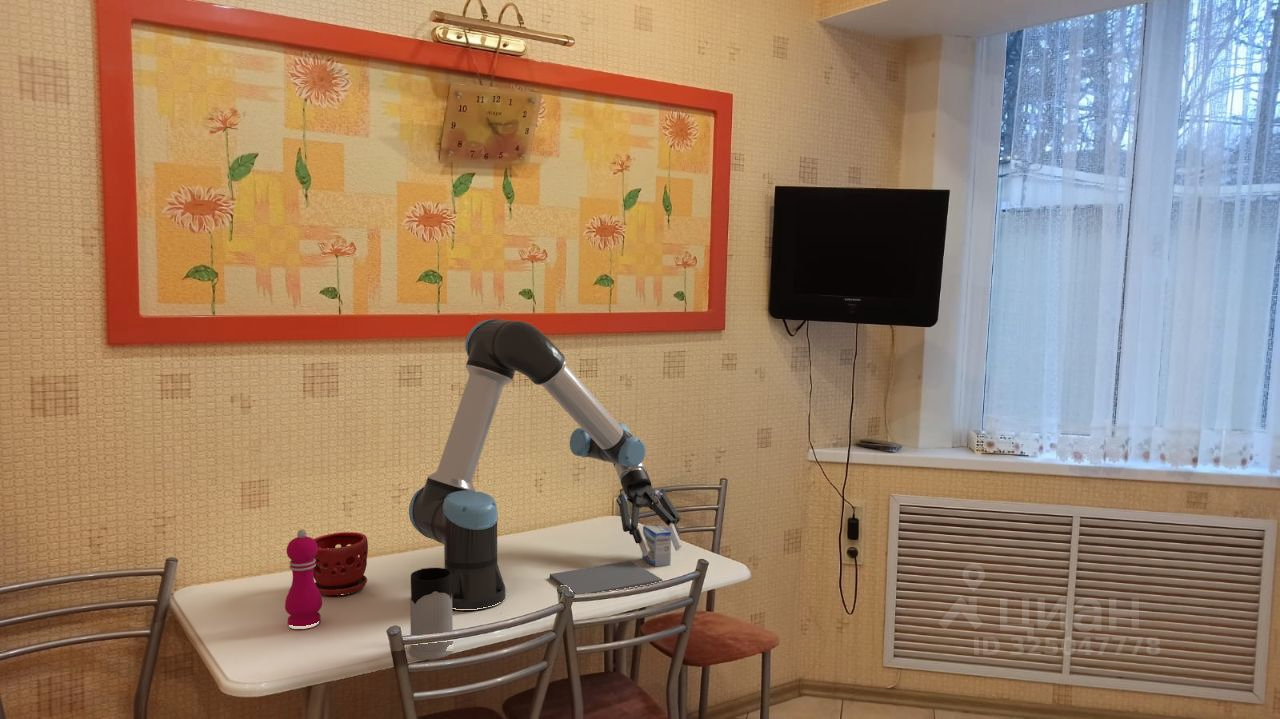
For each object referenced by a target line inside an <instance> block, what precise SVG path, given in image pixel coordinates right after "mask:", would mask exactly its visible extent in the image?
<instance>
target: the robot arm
mask: <svg viewBox="0 0 1280 719" xmlns="http://www.w3.org/2000/svg"><path fill="white" fill-rule="evenodd" d="M464 347H465V348H464V349H465V352H466V354H467V357H468V358H467V361H466V362H465V363H466V364H465V368H466V371H467V373H468V378H467V381H466V384H465V387H464V390H463V392H462V396H461V398H460V402H459V404H458V407H457V411H456V413H455V416H454V420H453V422H452V425H451V428H450V432H449V434H448V437H447V440H446V442H445V445H444V449H443V451H442V455H441V458H440V460H439V463H438V467H437V469H436V471H435V472H433V473H431V474H428V475H427V479H426V480H425V484H424V485H423V487H421V488H420V489H419V490H416V491H415V492H414V493H413V495H412V497H411V499H410V502H409V506H408V514H409V516H408V517H409V520H410V522H411V524H412V526H413V528H414V529H415V530H417V532H419V534H421V535H423V536H424V537H425V538H427V539H430V540H431V539H432V540H433V541H435V542H438V543H440V544H442V545H444V547H443V550H444V551H443V552H444V553H443V555H444V556H443V557H444V562H443V563H444V567H443V568H444V569H447V570H449V571H450V572H451V594H452V608H456V609H477V608H483V607H488V606H492V605H495V604H497V603H499V602H502V601H503V600H504V599H505V600H506V598H505V597H506V596H507V595H506V594H507V593H506V585H505V582H504V578H503V576H502V573H501V570H500V567H499V563H498V518H499V513H498V508H497V502H496V499H494V497H493V496H491V494H488V493H486V492H483V491H476V488H475V486H474V484H473V480H474V475H475V474H476V470H477V468H478V464H479V461H480V458H481V455H482V452H483V449H484V446H485V443H486V439H487V438H488V435H489V431H490V429H491V425H492V422H493V419H494V416H495V413H496V409H497V407H498V404H499V401H500V399H501V394H502V392H503V389H504V387H505V386H506V385H508V384H510V383H512V382H513V379H514V376H515V373H516V372H517V373H521V374H522V375H524V376H526V377H527V378H528V379H529V380H530V381H531V382H532V383H533V384H534V385H536V386H542V387H543V388H544V390H545V391H546V392H547V393H549V394H550V396H551V397H552V398H553V399H554V400H555V401H556V403H558V404H559V406H561V408H562V409H563V410H564V411H565V412H566V413H567V414H568V415H569V416H570V417H571V418H572V419H573V421H574V422H576V423H577V425H579V427H578V428H575V429H574V430H573V431H572V433H571V435H570V438H569V448H570V449H569V450H570V452H572V454H573V456H574V455H575V456H577V457H580V458H591V459H595V460H599V461H603V462H608V463H611V464H613V467H614V468H615V472H616V475H617V477H618V479H619V481H620V485H621V487H622V490H623V493H624V494H623V493H619V495H618V497H617V498H616V503H617V505H618V506H619V512H620V519H621V520H620V521H621V525H622V531H623V532H625V533H627V532H629V533H628V534H629V535H632V536H633V537H632V538H633V540H634V542H635V543H636V544H638V545H639V548H640V551H641V554H642V553H643V556H646V555H647V554H648V552H649V551H650V549H649V547H648V544H647V541H646V539H645V536H644V534H643V528H642V527H639V518H640V509H642V508H648V509H649V510H651V511H653V512H654V513H655V514H656V515H657V516H658V517H659V518H660V519H661V521H662V522H664V523H665V524H666V525H667V528H666V530H668V531H669V532H671V544H672V546H673V548H674V549H675V552H677V551H679V550H680V549H681V547H682V546H683V544H682V541H681V538H680V530H679V528H678V525H677V524H679V523H680V521H681V519H682V517H681V516H680V514H679V512H678V511H677V509H676V508H675V507H674V505H673V503H672V502H671V500H670V498H669V497H668V496H667V492H666V490H665V489H664V488H661V489H660V490H655V489H654V488H653V486H652V481H651V478H650V476H649V473H648V472H647V470H646V467H645V464H644V462H643V460H645V457H646V451H647V450H646V445H645V443H644V442H643V440H641V439H640V438H637V437H636V436H633V434H632V433H631V431H630V429H629V426H628V425H626V424H625V423H622V422H618V421H617V420H616V419H615V418H614V417H613V416H612V415H611V413H610V412H609V411H608V410H607V408H605V407H604V405H603V404H601V402H600V401H599V400H598V399H597V398H596V396H594V394H593V393H592V392H591V391H590V390H589V389H588V387H587V386H586V385H585V384H584V383H583V381H581V380H580V378H578V376H577V375H576V374H575V373H574V372H573V370H572V369H571V368H570V367H569V366H568V365H567V364H566V359H567V358H566V356H565V355H564V354H563V352H562V351H560V349H559V348H558V347H557V346H556V345H555V344H554V343H553V341H551V340H550V339H549V338H548V337H547V336H546V335H545V334H544V333H543V332H542V331H541V330H539V329H538V328H537V327H536V326H535V325H533V324H531V323H528V322H526V321H522V320H507V319H499V318H493V319H492V318H491V319H487V320H483V321H480V322H478V323H476V324H475V325H474V326H473V327H472V328H471V329H470V330H469V332H468V334H467V336H466V339H465V345H464ZM628 502H630V503H631V518H630V513H629V512H630V511H629V508H628ZM505 600H504V601H505ZM504 601H503V602H504ZM503 602H502V603H503Z"/></svg>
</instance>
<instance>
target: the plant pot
mask: <svg viewBox="0 0 1280 719" xmlns="http://www.w3.org/2000/svg"><path fill="white" fill-rule="evenodd" d="M313 539H314V540H315V541H316V543H317V546H318V552H317V554H316V555H315V557H314V559H315V560H316V561H315V564H316V566H315V567H314V568H313V578H314V582H315V584H316V586H317V588H318V590H319V592H320V594H321V595H322V594H324V595H323V596H326V595H341V594H347V595H349V594H348V593H351V594H353V593H352V592H354V593H356V592H358V591H360V590H362V589H363V588H364V587H365V586H366V584H367V582H368V578H367V576H366V575H364V574H365V572H366V569H367V565H368V553H369V542H368V536H366V535H365V534H363V533H361V532H351V531H350V532H349V531H346V532H345V531H344V532H343V531H342V532H334V533H328V534H323V535H321V536H317V537H314V538H313ZM337 545H340V547H336V546H337ZM355 591H356V592H355Z"/></svg>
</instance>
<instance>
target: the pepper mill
mask: <svg viewBox="0 0 1280 719" xmlns="http://www.w3.org/2000/svg"><path fill="white" fill-rule="evenodd" d="M296 534H297V536H296V537H295V538H293V539H291V540H290V541H289V542H288V544H287V547H286V555H287V558H289V559H290V561H289V565H290V566H289V570H291V571H292V573H291V574H292V580H291V581H292V582H291V586H290V588H289V589H288V592H287V595H286V598H285V603H284V610H285V612H286V613H287V614H289V616H288V617H287V625H288V624H289V625H293V626H306V625H311V624H314V623H317V622H318V621H320V622H321V614H320V610H321V608H322V607H323V598H322V594H320V592H319V590H318V588H317V586H316V584H315V582H316V581H315V579H314V577H313V568H314V567H315V566H316V564H315V561H316V560H315V559H314V557H315V555H316V554H317V552H318V546H317V543H316V541H315V540H314V539H315V538H313V537H311V536H308V535H307V531H306V530H305V529H299V530H298V531H297V533H296Z"/></svg>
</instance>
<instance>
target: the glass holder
mask: <svg viewBox="0 0 1280 719" xmlns="http://www.w3.org/2000/svg"><path fill="white" fill-rule="evenodd" d="M410 596H411V597H410V599H409V602H410V603H409V606H410V609H409V612H410V613H409V614H410V636H411V635H422V634H433V633H443V632H451V631H453V626H454V625H453V610H452V594H451V572H450V571H449V570H447V569H444V567H422V568H420V569H417V570H415V571H413V572H412V573H410ZM453 632H454V631H453ZM453 643H454V640H453V641H447V642H437V643H428V644H418V645H411V644H410V647H409V648H408V655H409V656H410V657H413V658H414V659H417V660H418V659H419V660H436V659H441V658H445V657H447V656H449V655H451V654H453V653H454V652H455V650H454V651H446V649H447V647H448V646H449V645H452V644H453Z"/></svg>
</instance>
